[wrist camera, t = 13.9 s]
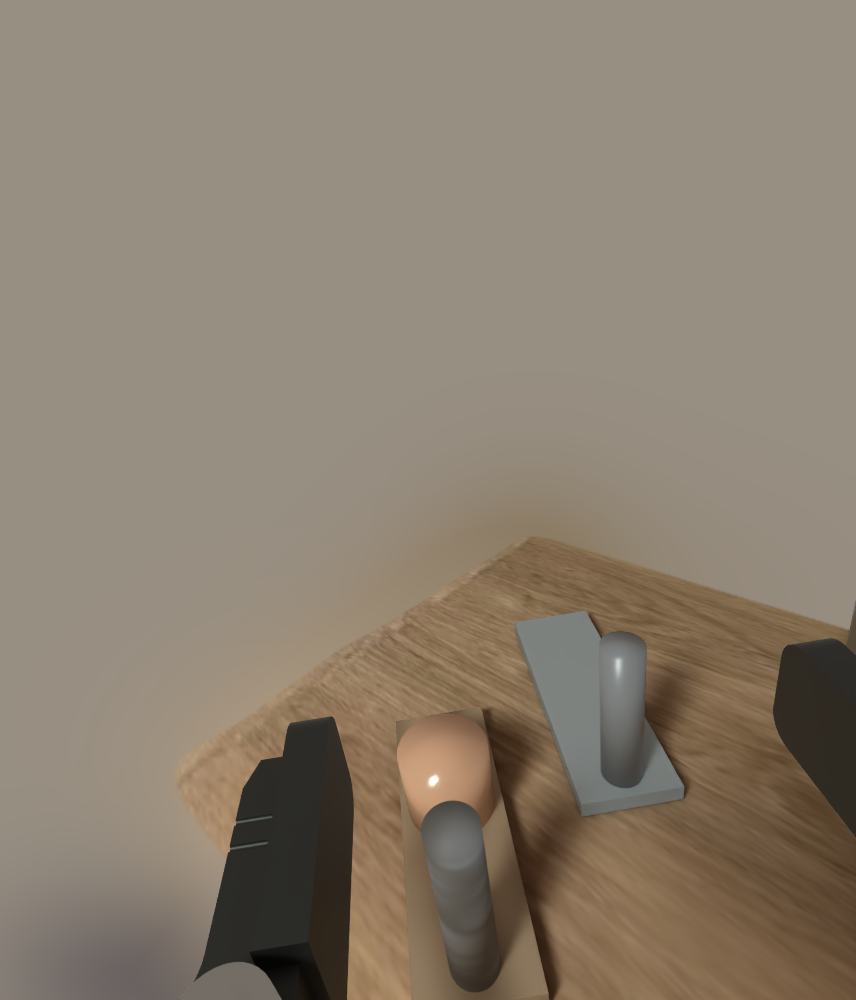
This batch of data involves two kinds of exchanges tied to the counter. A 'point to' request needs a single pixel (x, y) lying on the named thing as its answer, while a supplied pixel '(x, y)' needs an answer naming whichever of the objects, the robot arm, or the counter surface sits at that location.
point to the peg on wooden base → (467, 901)
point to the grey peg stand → (598, 712)
